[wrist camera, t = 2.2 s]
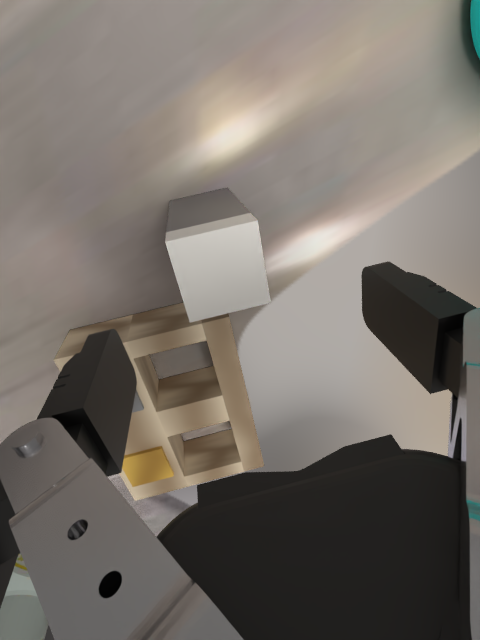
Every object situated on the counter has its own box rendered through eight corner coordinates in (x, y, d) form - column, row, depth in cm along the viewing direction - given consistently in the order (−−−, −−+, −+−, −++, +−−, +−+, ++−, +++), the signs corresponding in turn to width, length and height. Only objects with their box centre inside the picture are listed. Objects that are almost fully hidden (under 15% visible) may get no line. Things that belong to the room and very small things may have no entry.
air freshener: (-25, 559, 37) (-86, 688, 29) (-6, 513, 34) (-68, 642, 26) (78, 570, 41) (52, 687, 33) (102, 530, 38) (81, 646, 30)
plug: (185, 256, 25) (189, 322, 16) (169, 200, 23) (165, 241, 14) (238, 244, 25) (270, 302, 17) (227, 187, 23) (257, 220, 15)
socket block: (139, 463, 34) (134, 503, 30) (69, 329, 26) (52, 362, 22) (255, 432, 35) (265, 468, 31) (222, 293, 27) (229, 318, 23)
